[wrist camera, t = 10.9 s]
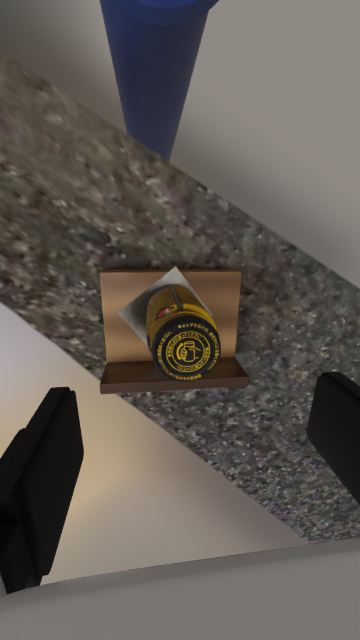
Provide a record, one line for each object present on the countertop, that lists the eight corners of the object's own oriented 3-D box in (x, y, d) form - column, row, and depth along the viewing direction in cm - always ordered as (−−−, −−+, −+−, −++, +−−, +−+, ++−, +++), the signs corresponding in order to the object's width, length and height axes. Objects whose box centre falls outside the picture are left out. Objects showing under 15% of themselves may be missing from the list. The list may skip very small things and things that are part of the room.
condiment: (212, 314, 31) (249, 357, 19) (157, 356, 32) (162, 421, 20) (175, 265, 29) (193, 283, 17) (117, 312, 29) (97, 358, 18)
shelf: (104, 269, 31) (89, 279, 23) (233, 269, 33) (259, 278, 25) (111, 360, 34) (100, 394, 27) (227, 355, 36) (248, 386, 29)
